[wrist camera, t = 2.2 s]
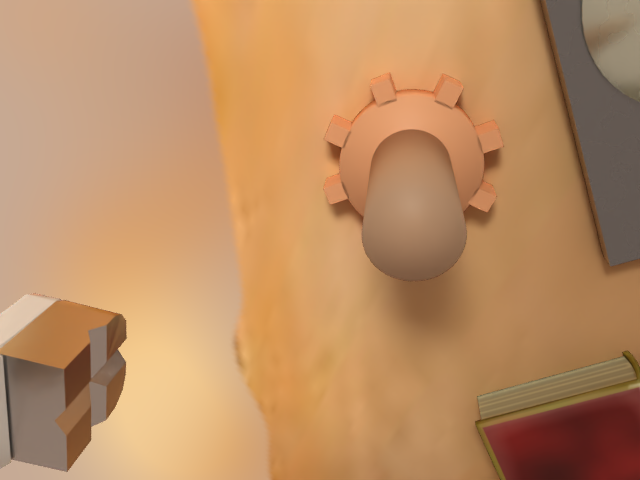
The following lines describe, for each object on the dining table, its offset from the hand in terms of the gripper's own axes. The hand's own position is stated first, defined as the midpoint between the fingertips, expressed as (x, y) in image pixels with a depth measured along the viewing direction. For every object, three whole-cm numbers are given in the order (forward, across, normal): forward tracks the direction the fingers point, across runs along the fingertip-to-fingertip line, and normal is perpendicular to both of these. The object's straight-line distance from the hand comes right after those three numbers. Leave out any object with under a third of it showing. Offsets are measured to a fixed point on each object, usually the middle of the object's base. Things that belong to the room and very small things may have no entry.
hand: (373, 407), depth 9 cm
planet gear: (+32, 0, +5) cm, 32 cm away
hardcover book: (+35, -20, +28) cm, 49 cm away
